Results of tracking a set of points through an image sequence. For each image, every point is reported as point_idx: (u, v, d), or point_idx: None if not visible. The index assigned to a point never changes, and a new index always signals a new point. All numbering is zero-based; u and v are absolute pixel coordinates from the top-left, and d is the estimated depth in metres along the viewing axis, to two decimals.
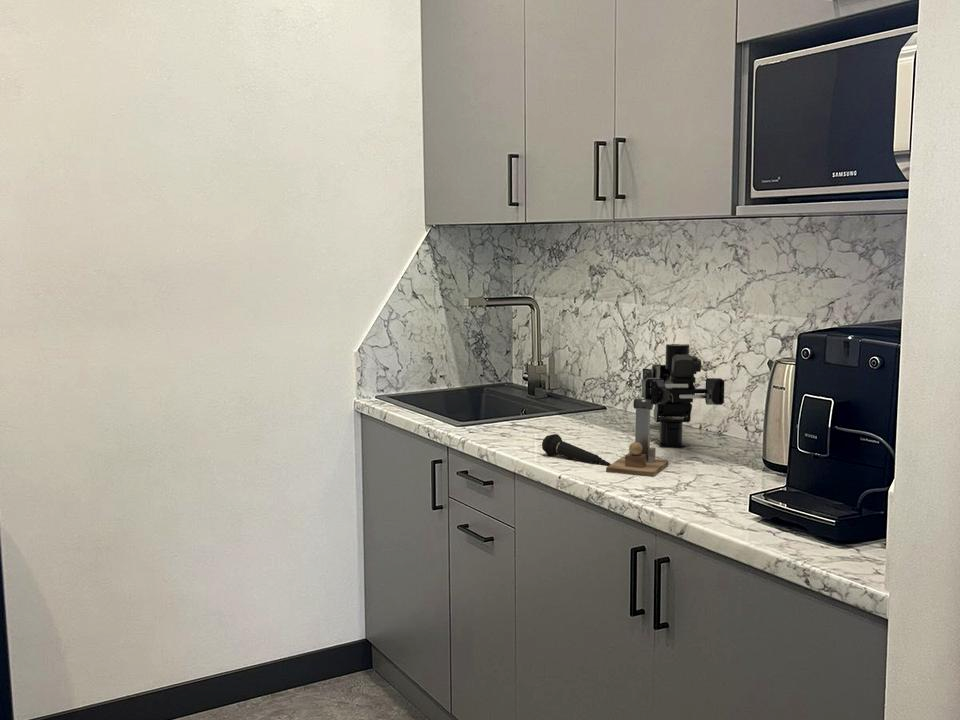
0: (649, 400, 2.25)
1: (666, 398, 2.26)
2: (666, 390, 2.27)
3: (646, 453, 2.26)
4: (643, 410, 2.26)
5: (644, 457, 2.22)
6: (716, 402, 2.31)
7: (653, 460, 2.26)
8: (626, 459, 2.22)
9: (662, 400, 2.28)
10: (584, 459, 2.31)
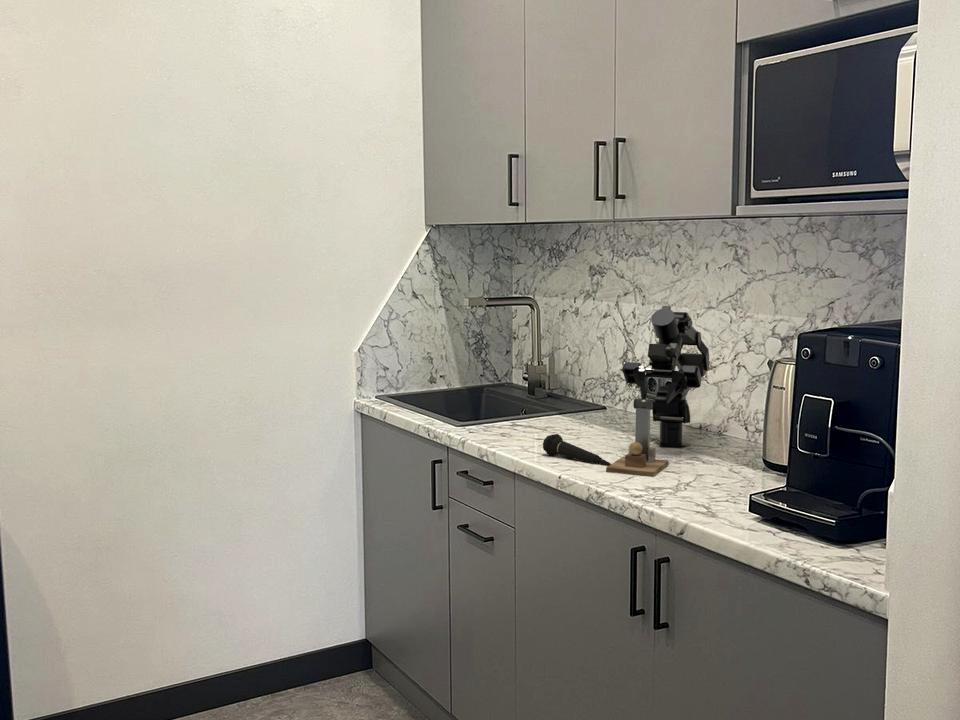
0: (649, 400, 2.25)
1: None
2: (642, 389, 2.37)
3: (646, 453, 2.26)
4: (643, 410, 2.26)
5: (644, 457, 2.22)
6: (684, 388, 2.38)
7: (653, 460, 2.26)
8: (626, 459, 2.22)
9: None
10: (585, 459, 2.31)
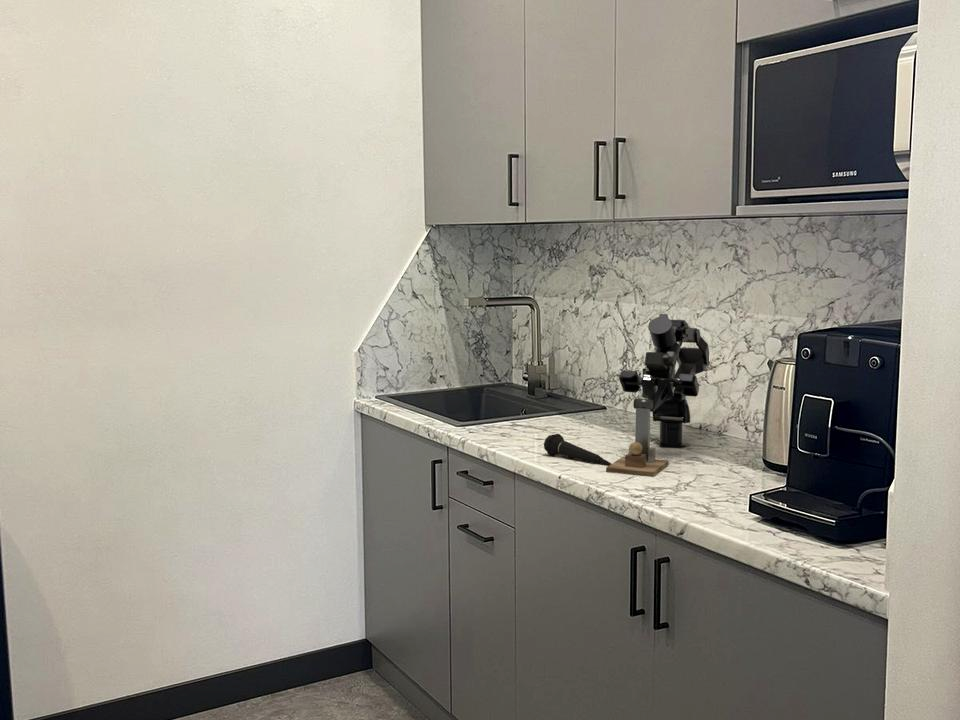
0: (649, 400, 2.25)
1: None
2: None
3: (646, 453, 2.26)
4: (643, 410, 2.26)
5: (644, 457, 2.22)
6: (670, 396, 2.37)
7: (653, 460, 2.26)
8: (626, 459, 2.22)
9: None
10: (585, 459, 2.31)
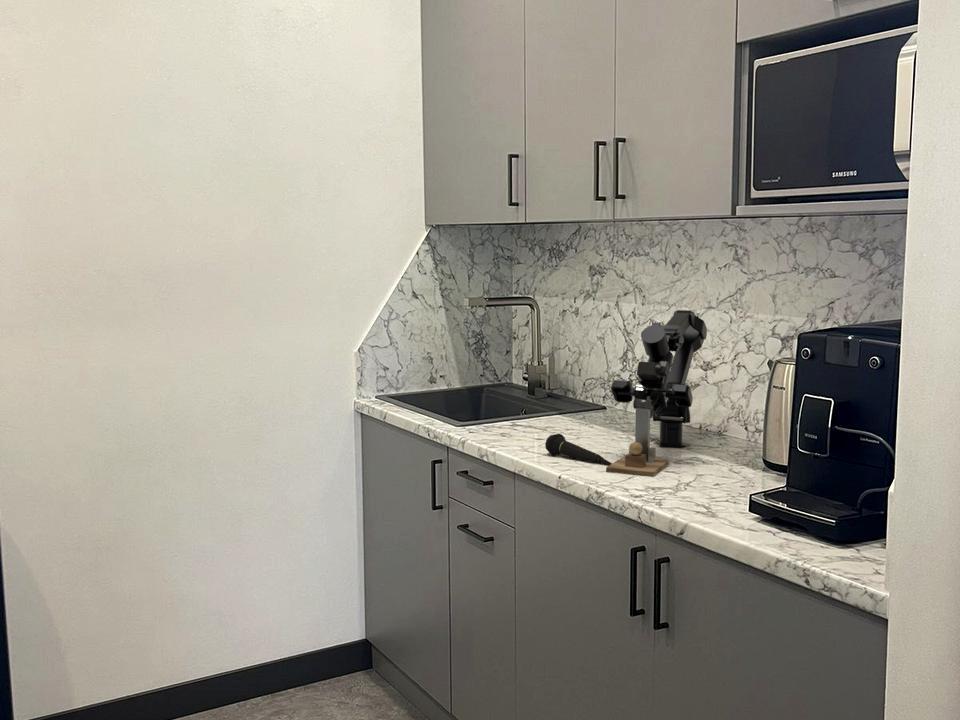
0: (649, 400, 2.25)
1: None
2: None
3: (646, 453, 2.26)
4: (642, 410, 2.25)
5: (644, 457, 2.22)
6: (663, 406, 2.32)
7: (653, 460, 2.26)
8: (626, 459, 2.22)
9: None
10: (586, 459, 2.31)
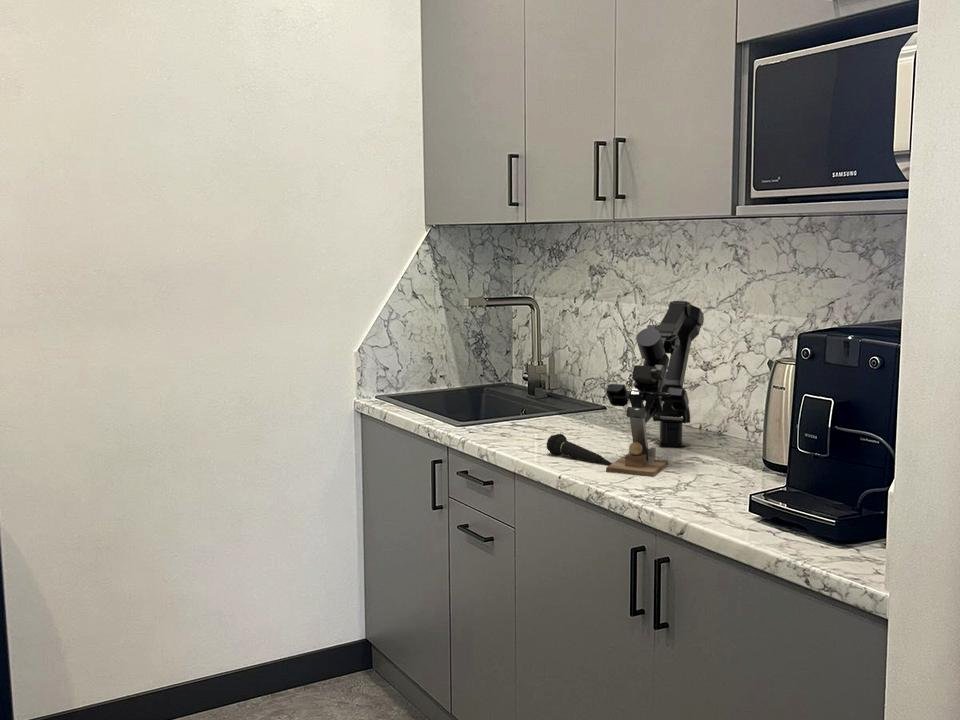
0: (642, 410, 2.20)
1: None
2: None
3: (646, 455, 2.26)
4: (637, 419, 2.22)
5: (644, 457, 2.22)
6: (659, 410, 2.28)
7: (653, 460, 2.26)
8: (626, 459, 2.22)
9: None
10: (587, 459, 2.31)
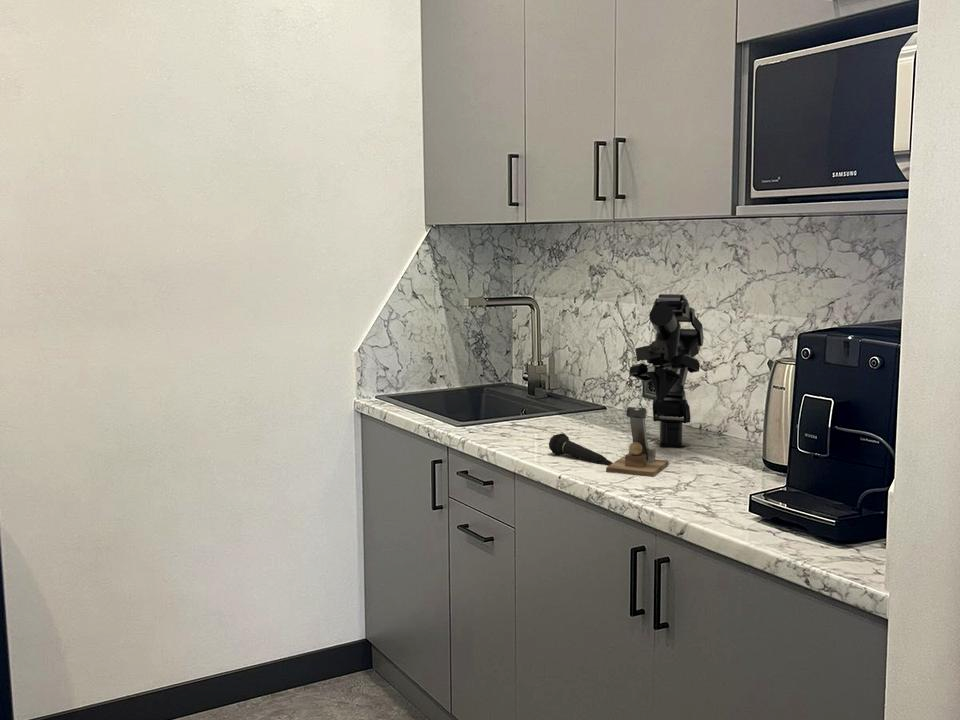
0: (642, 410, 2.20)
1: None
2: (656, 390, 2.37)
3: (646, 455, 2.26)
4: (637, 419, 2.22)
5: (644, 457, 2.22)
6: (678, 377, 2.37)
7: (653, 460, 2.26)
8: (626, 459, 2.22)
9: None
10: (589, 459, 2.31)
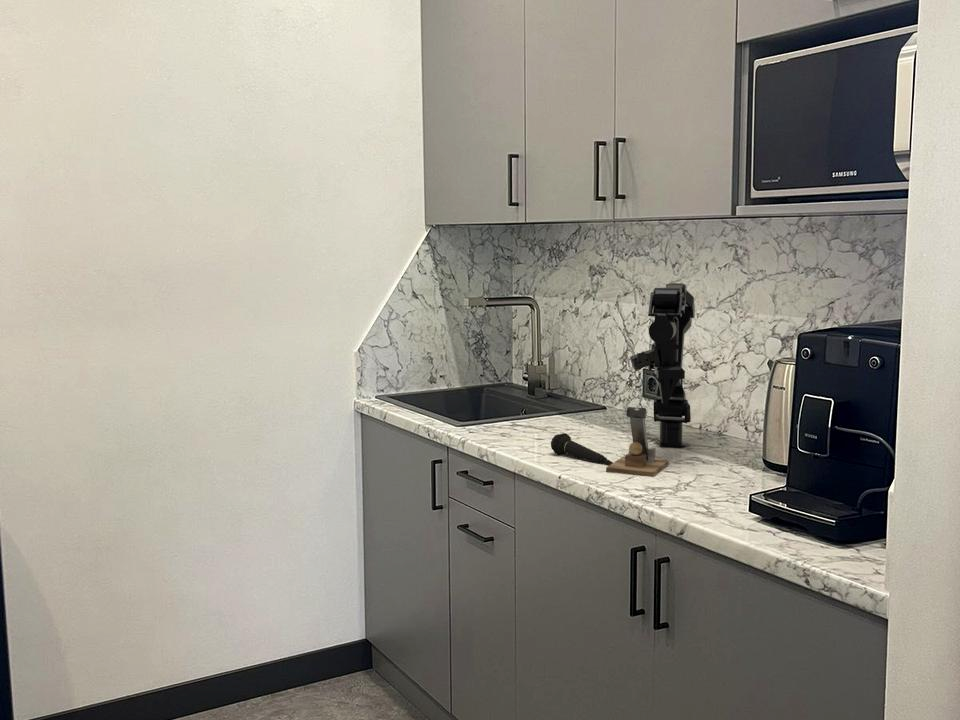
0: (642, 410, 2.20)
1: None
2: (660, 392, 2.36)
3: (646, 455, 2.26)
4: (637, 419, 2.22)
5: (644, 457, 2.22)
6: (677, 379, 2.32)
7: (653, 460, 2.26)
8: (626, 459, 2.22)
9: None
10: (590, 459, 2.31)
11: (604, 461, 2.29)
